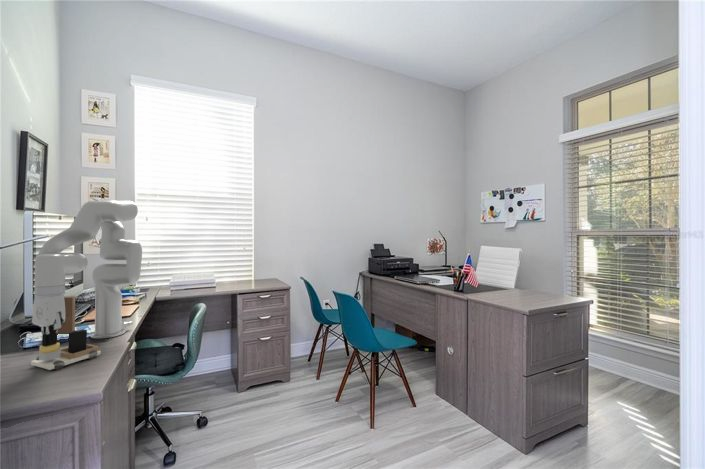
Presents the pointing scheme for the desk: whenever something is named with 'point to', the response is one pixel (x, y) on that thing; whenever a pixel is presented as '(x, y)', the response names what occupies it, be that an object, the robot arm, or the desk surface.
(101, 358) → the desk surface
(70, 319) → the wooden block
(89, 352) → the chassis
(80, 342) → the ink cartridge
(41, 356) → the yellow white block
